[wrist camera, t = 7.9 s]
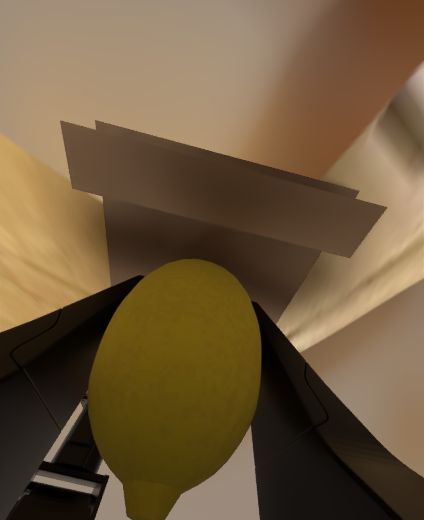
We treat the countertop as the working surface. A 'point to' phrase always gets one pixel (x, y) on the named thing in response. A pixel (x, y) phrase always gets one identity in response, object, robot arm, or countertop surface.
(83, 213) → the countertop surface
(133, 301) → the lemon
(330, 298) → the countertop surface
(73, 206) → the countertop surface
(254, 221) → the cradle
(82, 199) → the countertop surface
